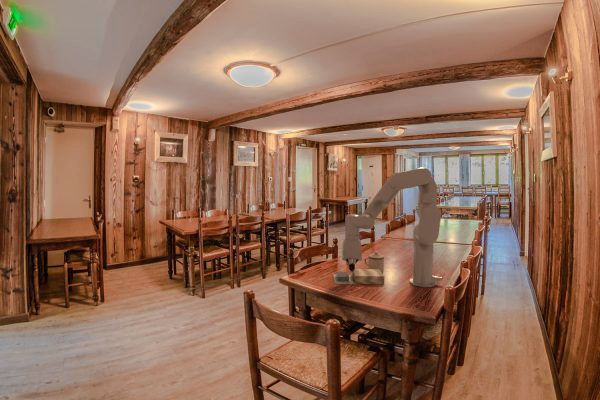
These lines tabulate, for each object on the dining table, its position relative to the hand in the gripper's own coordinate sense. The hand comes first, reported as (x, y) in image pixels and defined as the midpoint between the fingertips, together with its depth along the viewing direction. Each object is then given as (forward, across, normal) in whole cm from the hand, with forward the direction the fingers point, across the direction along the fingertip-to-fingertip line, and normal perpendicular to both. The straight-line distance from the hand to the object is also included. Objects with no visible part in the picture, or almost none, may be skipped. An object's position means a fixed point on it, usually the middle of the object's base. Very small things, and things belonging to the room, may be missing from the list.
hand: (351, 271), depth 170 cm
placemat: (+5, +4, 0) cm, 7 cm away
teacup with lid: (+5, -15, -17) cm, 23 cm away
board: (+5, -8, 0) cm, 10 cm away
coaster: (+2, +5, 0) cm, 5 cm away
